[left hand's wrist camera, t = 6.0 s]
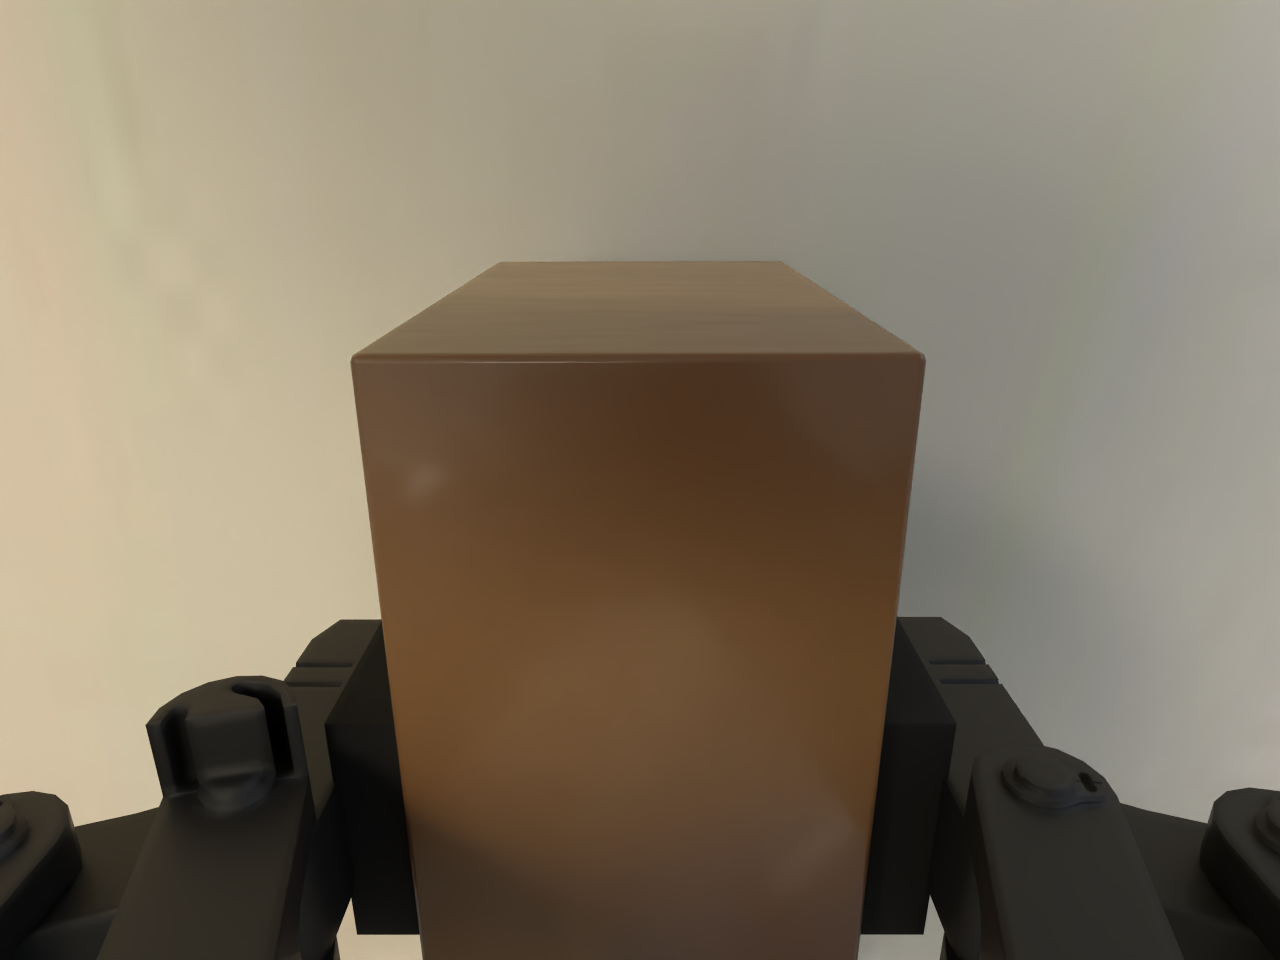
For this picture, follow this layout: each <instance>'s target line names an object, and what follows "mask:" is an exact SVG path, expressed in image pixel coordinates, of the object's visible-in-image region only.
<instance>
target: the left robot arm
mask: <svg viewBox="0 0 1280 960" xmlns="http://www.w3.org/2000/svg"><path fill="white" fill-rule="evenodd" d="M146 729H147V733H148V737H149V741H150V745H151V749H152V753H153V757H154V761H155V765H156V769H157V773H158V777H159V781H160V785H161V789H162V793H163V799H162V801H161V804H160V806H159V807H157V808H154V809H150V810H147V811H143V812H140V813H136V814H132V815H127V816H122V817H118V818H113V819H109V820H104V821H100V822H95V823H90V824H86V825H81V826H77V827H74V824H73V821H72V818H71V814H70V811H69V807H68V805H67V804H66V803H64V802H63V801H62V800H61V799H60V798H58V797H57V796H56V795H53V794H47V793H41V792H35V791H30V792H21V793H13V794H4V795H1V796H0V960H340V955H339V949H338V943H337V937H336V935H337V932H338V930H339V927H340V925H341V922H342V919H343V917H344V914H345V912H346V909H347V907H348V904H349V902H350V899H351V898H352V905H353V911H354V917H355V924H356V930H357V935H420V933H419V924H418V916H417V908H416V899H415V891H414V883H413V875H412V866H411V858H410V850H409V842H408V833H407V825H406V817H405V809H404V800H403V792H402V784H401V775H400V767H399V759H398V751H397V742H396V734H395V726H394V718H393V709H392V701H391V693H390V685H389V676H388V668H387V660H386V651H385V643H384V635H383V627H382V620H339V621H338V622H337V623H335V624H334V625H332V626H331V627H329V628H328V629H326V630H325V631H324V632H322V633H321V634H319V635H318V636H316V637H315V638H314V639H312V640H311V642H310V643H309V645H308V646H307V648H306V649H305V650H304V652H303V653H302V655H301V656H300V658H299V659H298V661H297V662H296V667H293V668H292V670H291V671H290V672H289V674H288V675H287V677H286V678H285V680H284V681H281V680H277V679H273V678H269V677H265V676H236V677H231V678H226V679H222V680H217V681H213V682H208V683H206V684H203V685H201V686H198V687H196V688H194V689H191V690H189V691H186V692H184V693H181V694H180V695H178V696H177V697H176V698H174V699H173V700H171V701H170V702H168V703H167V704H165V705H164V706H162V707H161V708H159V709H158V711H157V712H156V713H155V714H154V716H153V717H152V718H151V719H150V720H149V722H148V723H147V724H146ZM929 896H931V898H932V901H933V903H934V906H935V908H936V911H937V913H938V916H939V918H940V921H941V923H942V926H943V929H944V937H943V943H942V949H941V954H940V960H1280V791H1274V790H1265V789H1257V788H1244V789H1238V790H1232V791H1226V792H1225V793H1224V794H1223V795H1222V796H1220V797H1219V798H1218V799H1217V800H1216V801H1215V802H1214V804H1213V807H1212V810H1211V814H1210V817H1209V820H1208V824H1207V823H1202V822H1198V821H1193V820H1188V819H1184V818H1179V817H1175V816H1170V815H1166V814H1161V813H1156V812H1152V811H1147V810H1143V809H1140V808H1136V807H1133V806H1129V805H1126V804H1122V803H1120V802H1119V800H1118V797H1117V795H1116V794H1115V792H1114V791H1113V789H1112V788H1111V787H1110V785H1109V784H1108V782H1107V781H1106V779H1105V778H1104V777H1103V776H1102V775H1100V774H1099V773H1098V772H1096V771H1095V770H1094V769H1092V768H1091V767H1090V766H1089V765H1087V764H1086V763H1085V762H1083V761H1081V760H1079V759H1077V758H1075V757H1073V756H1071V755H1069V754H1066V753H1064V752H1062V751H1060V750H1058V749H1054V748H1050V747H1046V746H1044V745H1043V743H1042V742H1041V740H1040V739H1039V737H1038V736H1037V734H1036V733H1035V732H1034V730H1033V729H1032V727H1031V726H1030V724H1029V723H1028V721H1027V720H1026V719H1025V717H1024V716H1023V714H1022V713H1021V711H1020V710H1019V708H1018V707H1017V705H1016V704H1015V703H1014V701H1013V700H1012V698H1011V697H1010V695H1009V694H1008V692H1007V691H1006V689H1005V688H1004V687H1003V685H1002V684H999V682H998V678H997V676H996V675H995V673H994V672H993V671H992V669H991V668H990V666H989V665H986V664H985V659H984V657H983V656H982V655H981V653H980V652H979V650H978V649H977V647H976V646H975V644H974V643H973V641H972V640H971V639H970V637H969V636H967V635H966V634H964V633H963V632H962V631H960V630H959V629H957V628H956V627H954V626H953V625H951V624H950V623H949V622H947V621H946V620H944V619H943V618H941V617H897V619H896V627H895V636H894V645H893V653H892V662H891V671H890V680H889V688H888V697H887V706H886V715H885V723H884V732H883V741H882V750H881V758H880V767H879V776H878V785H877V793H876V802H875V811H874V819H873V828H872V837H871V846H870V854H869V863H868V872H867V881H866V889H865V898H864V907H863V916H862V924H861V933H860V934H924V928H925V922H926V915H927V909H928V903H929Z"/></svg>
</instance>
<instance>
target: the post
mask: <svg viewBox="0 0 1280 960" xmlns="http://www.w3.org/2000/svg"><path fill="white" fill-rule="evenodd" d="M925 365H926V360H925V356H924V354H922V353H921V352H919V351H918V350H916V349H915V348H913V347H912V346H910V345H908V344H907V343H905V342H904V341H902V340H901V339H899V338H898V337H896V336H895V335H893V334H892V333H890V332H889V331H887V330H886V329H884V328H882V327H881V326H879V325H878V324H876V323H875V322H873V321H872V320H870V319H869V318H867V317H866V316H864V315H863V314H861V313H860V312H858V311H857V310H855V309H853V308H852V307H850V306H849V305H847V304H846V303H844V302H843V301H841V300H840V299H838V298H837V297H835V296H834V295H832V294H831V293H829V292H828V291H826V290H824V289H823V288H821V287H820V286H818V285H817V284H815V283H814V282H812V281H811V280H809V279H808V278H806V277H805V276H803V275H802V274H800V273H799V272H797V271H795V270H794V269H792V268H791V267H789V266H788V265H786V264H785V263H783V262H781V261H708V262H500V263H498V264H496V265H494V266H493V267H491V268H490V269H488V270H487V271H485V272H483V273H482V274H480V275H479V276H477V277H475V278H474V279H472V280H471V281H469V282H468V283H466V284H464V285H463V286H461V287H460V288H458V289H457V290H455V291H453V292H452V293H450V294H449V295H447V296H446V297H444V298H442V299H441V300H439V301H438V302H436V303H435V304H433V305H431V306H430V307H428V308H427V309H425V310H424V311H422V312H420V313H419V314H417V315H416V316H414V317H412V318H411V319H409V320H408V321H406V322H405V323H403V324H401V325H400V326H398V327H397V328H395V329H394V330H392V331H390V332H389V333H387V334H386V335H384V336H383V337H381V338H379V339H378V340H376V341H375V342H373V343H372V344H370V345H368V346H367V347H365V348H364V349H362V350H361V351H359V352H357V353H356V354H354V355H353V356H352V359H351V370H352V379H353V387H354V395H355V403H356V412H357V420H358V428H359V436H360V445H361V453H362V461H363V470H364V478H365V486H366V494H367V503H368V511H369V519H370V527H371V536H372V544H373V552H374V560H375V569H376V577H377V585H378V594H379V602H380V610H381V618H382V627H383V635H384V643H385V651H386V660H387V668H388V676H389V685H390V693H391V701H392V709H393V718H394V726H395V734H396V742H397V751H398V759H399V767H400V775H401V784H402V792H403V800H404V809H405V817H406V825H407V833H408V842H409V850H410V858H411V866H412V875H413V883H414V891H415V899H416V908H417V916H418V924H419V933H420V941H421V949H422V957H423V960H857V959H858V951H859V942H860V933H861V924H862V916H863V907H864V898H865V889H866V881H867V872H868V863H869V854H870V846H871V837H872V828H873V819H874V811H875V802H876V793H877V785H878V776H879V767H880V758H881V750H882V741H883V732H884V723H885V715H886V706H887V697H888V688H889V680H890V671H891V662H892V653H893V645H894V636H895V627H896V619H897V610H898V601H899V592H900V584H901V575H902V566H903V557H904V549H905V540H906V531H907V522H908V514H909V505H910V496H911V487H912V479H913V470H914V461H915V453H916V444H917V435H918V426H919V418H920V409H921V400H922V391H923V383H924V374H925Z"/></svg>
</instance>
